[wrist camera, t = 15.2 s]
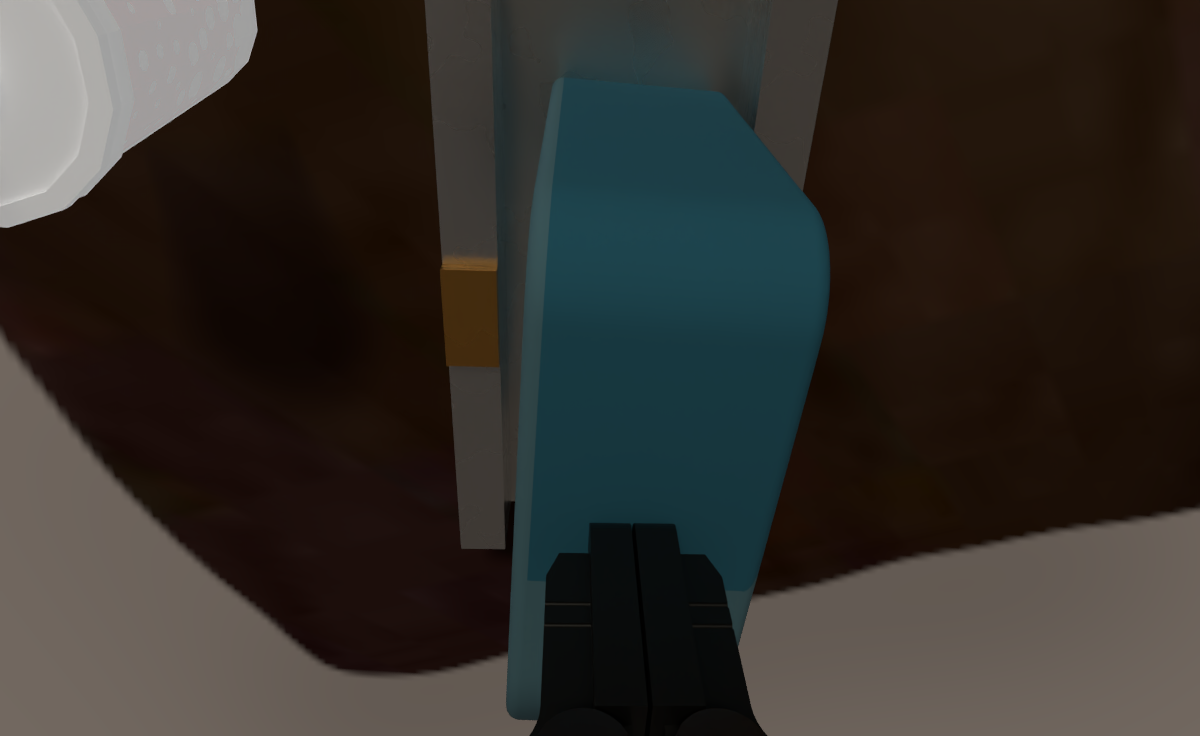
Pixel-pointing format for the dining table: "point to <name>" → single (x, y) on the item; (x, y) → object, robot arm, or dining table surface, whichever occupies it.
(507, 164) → the grey tray
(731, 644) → the robot arm
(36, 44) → the beverage cup
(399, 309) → the dining table surface
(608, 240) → the data package
